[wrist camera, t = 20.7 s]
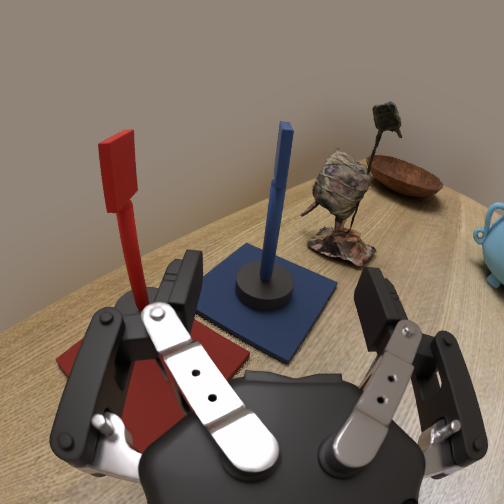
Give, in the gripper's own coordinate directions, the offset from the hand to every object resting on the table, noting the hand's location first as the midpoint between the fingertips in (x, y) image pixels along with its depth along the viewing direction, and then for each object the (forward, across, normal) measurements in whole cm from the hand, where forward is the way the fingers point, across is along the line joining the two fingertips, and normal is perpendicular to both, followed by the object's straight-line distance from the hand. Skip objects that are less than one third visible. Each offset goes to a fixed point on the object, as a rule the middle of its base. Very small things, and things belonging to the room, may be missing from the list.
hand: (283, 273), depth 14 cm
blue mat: (+10, 0, +11) cm, 15 cm away
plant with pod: (+21, -10, +12) cm, 26 cm away
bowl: (+49, -33, +12) cm, 60 cm away
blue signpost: (+10, 0, +11) cm, 15 cm away
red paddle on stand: (+5, +10, +11) cm, 16 cm away
